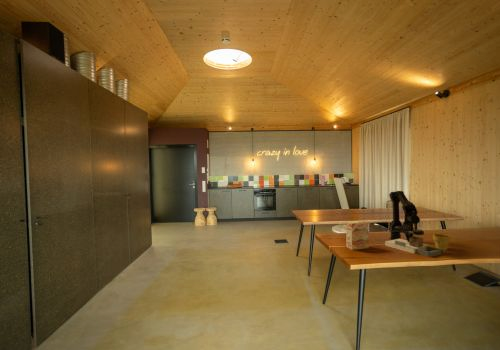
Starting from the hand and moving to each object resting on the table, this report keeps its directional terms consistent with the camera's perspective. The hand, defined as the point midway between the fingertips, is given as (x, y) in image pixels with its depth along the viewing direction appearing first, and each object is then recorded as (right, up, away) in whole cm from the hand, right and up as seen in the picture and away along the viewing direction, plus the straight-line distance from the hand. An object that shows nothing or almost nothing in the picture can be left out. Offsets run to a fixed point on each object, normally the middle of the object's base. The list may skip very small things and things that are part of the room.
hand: (408, 241), depth 191 cm
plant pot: (+23, -5, -2) cm, 23 cm away
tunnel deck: (+1, -5, -3) cm, 5 cm away
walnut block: (+2, -2, -5) cm, 6 cm away
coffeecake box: (-37, -5, +2) cm, 37 cm away
